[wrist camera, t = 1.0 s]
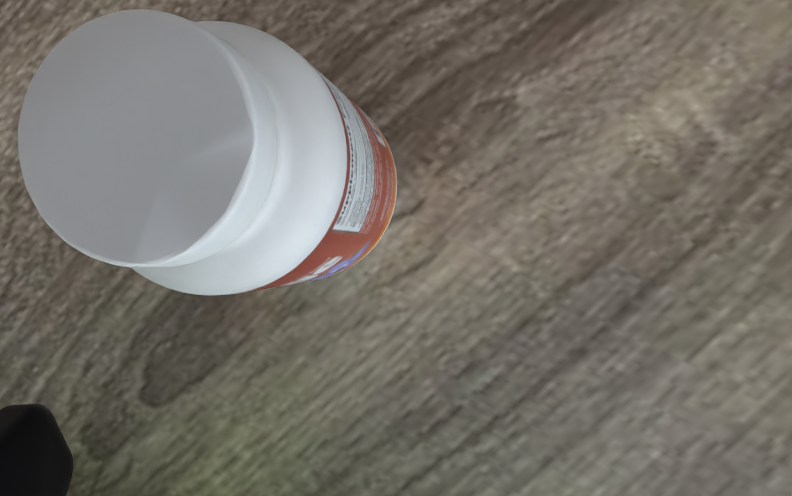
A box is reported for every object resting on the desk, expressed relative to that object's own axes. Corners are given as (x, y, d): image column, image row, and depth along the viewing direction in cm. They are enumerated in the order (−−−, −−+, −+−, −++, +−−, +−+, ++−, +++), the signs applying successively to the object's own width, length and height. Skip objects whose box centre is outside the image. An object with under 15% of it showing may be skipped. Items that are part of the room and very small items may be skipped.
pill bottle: (216, 270, 24) (-37, 292, 13) (230, 90, 24) (-13, -39, 13) (393, 288, 23) (280, 328, 12) (409, 100, 23) (309, -33, 12)
